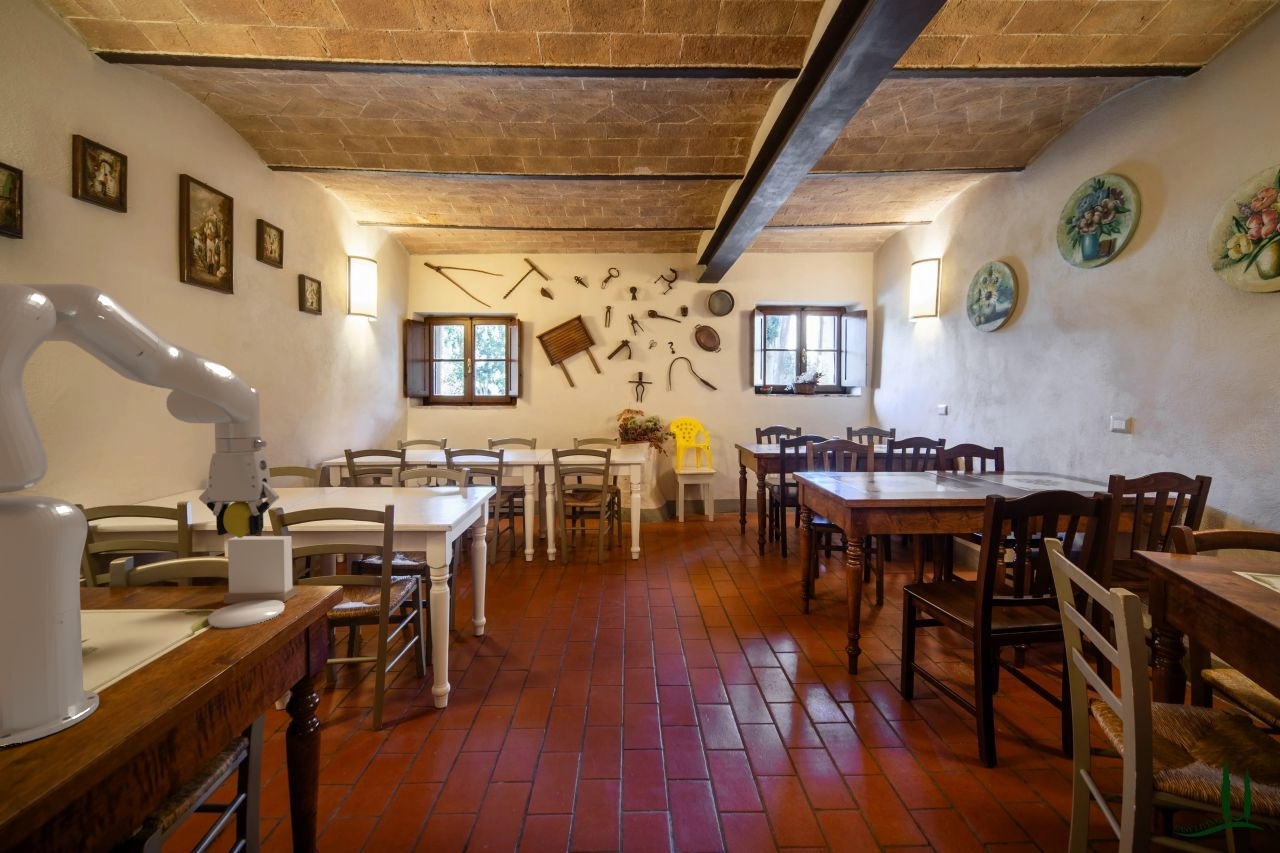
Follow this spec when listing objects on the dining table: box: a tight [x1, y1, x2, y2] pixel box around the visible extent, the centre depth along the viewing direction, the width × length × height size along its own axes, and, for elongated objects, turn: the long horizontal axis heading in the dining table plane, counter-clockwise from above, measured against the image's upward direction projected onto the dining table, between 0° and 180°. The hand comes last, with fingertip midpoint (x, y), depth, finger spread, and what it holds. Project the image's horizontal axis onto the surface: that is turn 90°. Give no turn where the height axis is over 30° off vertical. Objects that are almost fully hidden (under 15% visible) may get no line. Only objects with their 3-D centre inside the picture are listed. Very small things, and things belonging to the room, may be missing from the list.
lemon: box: [223, 502, 252, 538], centre depth 114 cm, size 6×6×8 cm
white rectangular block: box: [223, 535, 298, 604], centre depth 125 cm, size 5×13×14 cm, turn 93°
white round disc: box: [207, 600, 286, 629], centre depth 116 cm, size 13×13×1 cm
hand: (240, 532), depth 115 cm, fingers closed on lemon, 5 cm apart
